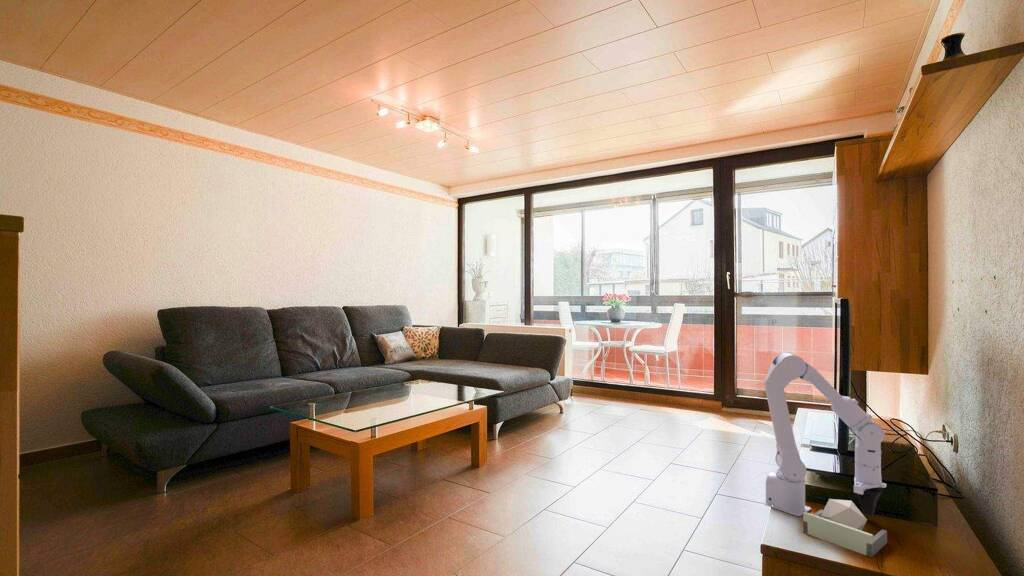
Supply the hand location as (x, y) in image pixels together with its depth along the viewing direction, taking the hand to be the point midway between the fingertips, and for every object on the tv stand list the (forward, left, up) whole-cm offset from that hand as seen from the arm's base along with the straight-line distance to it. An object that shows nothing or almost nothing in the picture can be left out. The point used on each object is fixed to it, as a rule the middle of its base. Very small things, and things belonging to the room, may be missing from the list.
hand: (867, 514), depth 131 cm
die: (-1, -14, -2) cm, 15 cm away
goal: (0, -17, -1) cm, 17 cm away
